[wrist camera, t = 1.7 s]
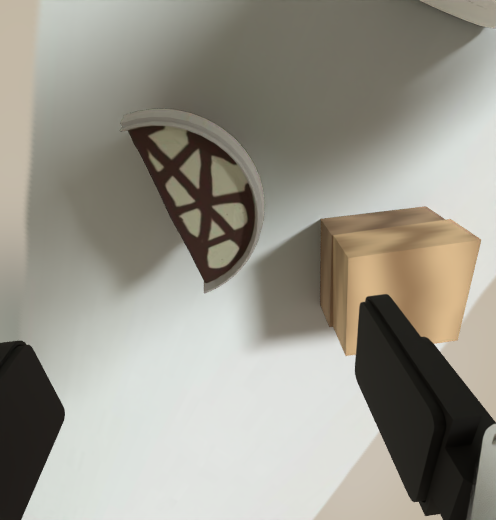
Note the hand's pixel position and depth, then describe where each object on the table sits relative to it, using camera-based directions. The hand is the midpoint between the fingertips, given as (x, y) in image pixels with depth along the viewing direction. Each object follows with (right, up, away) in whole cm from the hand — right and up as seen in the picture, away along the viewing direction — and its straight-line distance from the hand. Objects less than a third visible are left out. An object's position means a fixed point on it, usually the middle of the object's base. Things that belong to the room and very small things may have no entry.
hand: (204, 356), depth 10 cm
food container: (-1, +11, +20) cm, 23 cm away
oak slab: (+14, +1, +22) cm, 26 cm away
